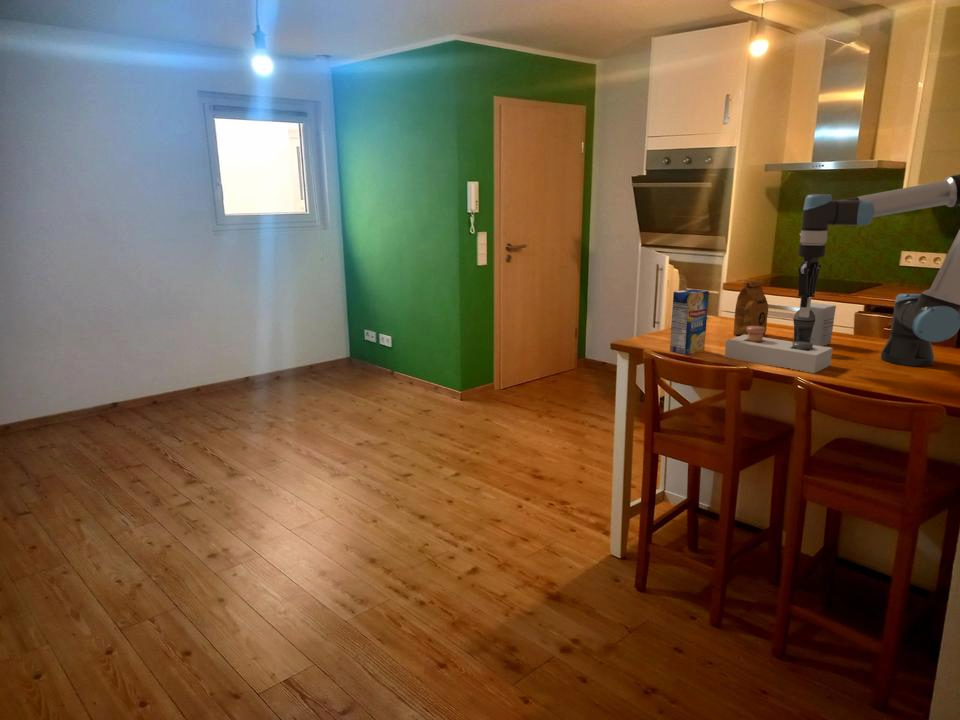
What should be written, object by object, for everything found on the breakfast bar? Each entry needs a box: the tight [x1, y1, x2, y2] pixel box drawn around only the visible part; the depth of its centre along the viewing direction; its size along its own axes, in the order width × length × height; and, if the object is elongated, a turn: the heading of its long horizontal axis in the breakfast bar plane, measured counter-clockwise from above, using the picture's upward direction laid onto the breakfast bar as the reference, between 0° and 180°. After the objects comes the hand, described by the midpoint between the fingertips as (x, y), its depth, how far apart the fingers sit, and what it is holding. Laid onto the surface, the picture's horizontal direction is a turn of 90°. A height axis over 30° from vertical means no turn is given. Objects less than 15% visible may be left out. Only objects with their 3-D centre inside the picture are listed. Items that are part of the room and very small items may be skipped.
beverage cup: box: [792, 309, 816, 343], centre depth 233 cm, size 7×7×20 cm
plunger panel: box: [724, 334, 833, 374], centre depth 221 cm, size 30×14×6 cm, turn 43°
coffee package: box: [733, 279, 769, 336], centre depth 259 cm, size 10×12×22 cm
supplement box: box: [810, 302, 837, 347], centre depth 245 cm, size 9×9×15 cm
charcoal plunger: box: [792, 341, 813, 351], centre depth 215 cm, size 6×6×6 cm
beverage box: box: [669, 288, 710, 356], centre depth 234 cm, size 7×11×22 cm, turn 124°
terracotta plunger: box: [746, 326, 766, 343], centre depth 226 cm, size 6×6×6 cm
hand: (803, 316), depth 213 cm, fingers closed
